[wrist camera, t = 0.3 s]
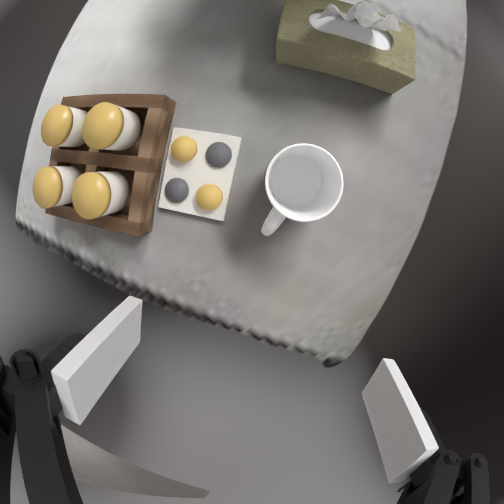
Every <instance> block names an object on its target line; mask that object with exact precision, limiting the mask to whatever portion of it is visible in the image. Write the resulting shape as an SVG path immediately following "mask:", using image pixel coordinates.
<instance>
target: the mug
mask: <svg viewBox="0 0 504 504" xmlns="http://www.w3.org/2000/svg"><path fill="white" fill-rule="evenodd" d="M265 189H266V193H267V196H268V198H269V200H270V202H271V204H272V205H273V208H272V209H271V211H270V213H269V214H268V216H267V218H266V220H265V221H264V223H263V226H262V228H261V232H262V233H263V234H264V235H266V236H269V235H271V234H272V233H273V232H274V231H275V230H276V229H277V228H278V227H279V226H280V225H281V223H282V222H283V221H284V219H285V218H286V217H287V218H289V219H291V220H295V221H299V222H311V221H315V220H318V219H321V218H323V217H325V216H326V215H328V214H329V213H330V212H331V211H332V210H333V209H334V208H335V207H336V206H337V204H338V202H339V200H340V198H341V195H342V192H343V176H342V172H341V169H340V167H339V165H338V163H337V161H336V160H335V159H334V157H333V156H332V155H331V154H330V153H328V152H327V151H326V150H324V149H323V148H321V147H319V146H316V145H312V144H304V143H302V144H294V145H291V146H288V147H286V148H284V149H283V150H281V151H280V152H278V153H277V154H276V155H275V156H274V158H273V159H272V160H271V162H270V163H269V166H268V168H267V171H266V175H265Z"/></svg>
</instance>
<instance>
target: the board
mask: <svg viewBox="0 0 504 504" xmlns="http://www.w3.org/2000/svg"><path fill="white" fill-rule="evenodd" d="M102 102H108V103H112V104H114V105H117V106H120V107H122V108H125V109H127V110H130V111H132V112H134V113H136V114H137V115H138V117H139V119H140V121H141V132H140V135H139V138H138V140H137V141H136V143H135V144H134V145H133V146H132V147H130V148H129V149H127V150H124V151H115V150H106V149H95V148H91V147H89V146H88V145H87V144H86V143H84V144H83V145H81V146H79V147H64V146H52V151H51V157H50V164H49V167H52V166H74V167H76V168H77V169H78V170H79V171H80V173H81V175H82V174H84V173H86V172H107V171H115V172H119V173H121V174H122V175H123V176H124V177H125V178H126V180H127V182H128V185H129V198H128V201H127V203H126V205H125V206H124V208H123V209H121V210H120V211H118V212H115V213H111V214H108V215H104V216H101V217H98V218H94V219H84V218H82V217H81V216H80V215H79V214H78V213H77V212H76V210H75V208H74V206H73V203H69V204H64V205H60V206H55V207H51V208H46V209H45V213H47V214H51V215H55V216H58V217H62V218H66V219H70V220H74V221H78V222H82V223H85V224H89V225H93V226H97V227H101V228H105V229H109V230H113V231H117V232H121V233H125V234H129V235H133V236H137V237H139V236H141V235H143V234H145V233H148V232H150V231H152V224H153V216H154V209H155V203H156V196H157V190H158V184H159V179H160V173H161V168H162V163H163V157H164V153H165V148H166V143H167V139H168V134H169V130H170V125H171V121H172V117H173V113H174V109H175V105H176V102H174V101H173V100H171V99H170V98H169V97H167V96H166V95H155V94H100V95H82V96H70V97H63V99H62V103H61V105H64V106H68V107H72V108H76V109H80V110H84V111H87V112H89V111H90V110H91V109H92V108H93V107H94V106H95V105H97V104H99V103H102Z"/></svg>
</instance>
